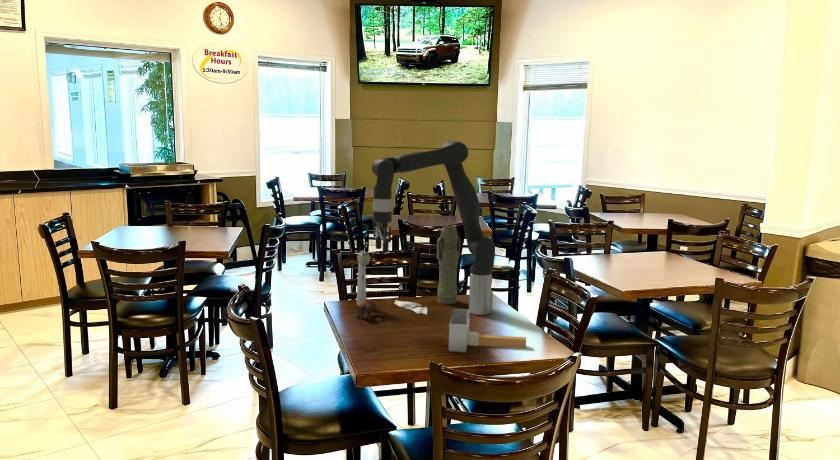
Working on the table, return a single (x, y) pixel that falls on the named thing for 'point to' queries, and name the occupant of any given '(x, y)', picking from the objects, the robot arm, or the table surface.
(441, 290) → the thermos
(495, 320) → the table surface
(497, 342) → the wooden handle
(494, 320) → the table surface
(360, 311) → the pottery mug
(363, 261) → the grey knobbed rod
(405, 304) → the cloth
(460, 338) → the block
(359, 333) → the table surface
